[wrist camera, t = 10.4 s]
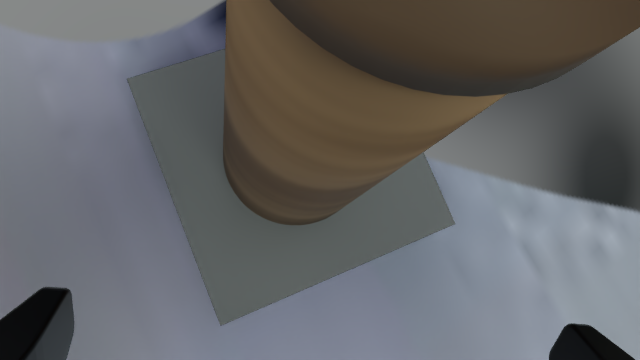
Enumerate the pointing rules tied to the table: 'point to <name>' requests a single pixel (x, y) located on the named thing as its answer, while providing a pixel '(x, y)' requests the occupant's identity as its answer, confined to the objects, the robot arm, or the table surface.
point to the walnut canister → (380, 85)
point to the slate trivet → (246, 226)
